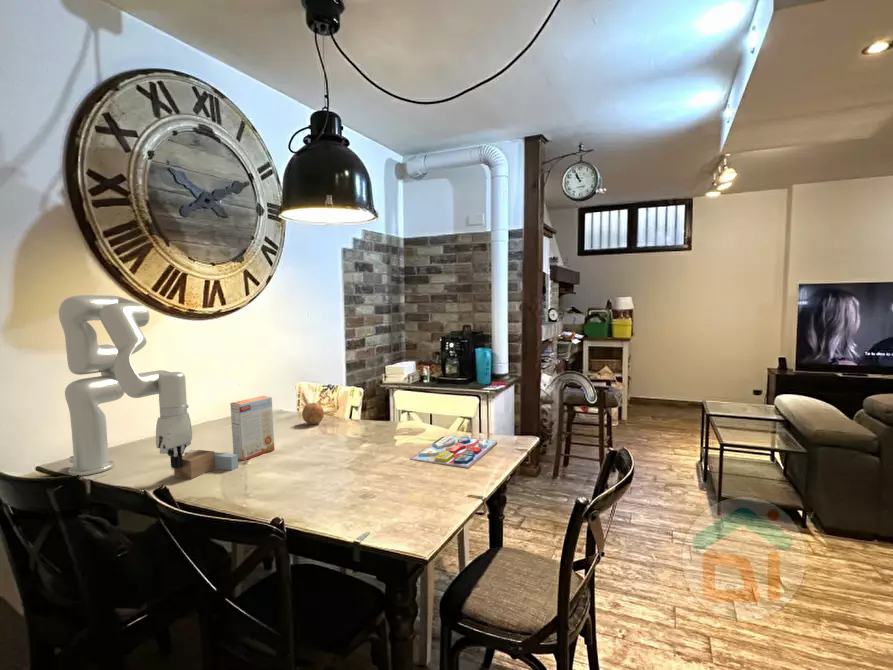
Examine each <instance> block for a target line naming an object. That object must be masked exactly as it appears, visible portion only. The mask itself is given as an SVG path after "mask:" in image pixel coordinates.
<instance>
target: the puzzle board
mask: <svg viewBox="0 0 893 670" xmlns="http://www.w3.org/2000/svg"><path fill="white" fill-rule="evenodd" d="M497 444H498V441H497V440H493V439H492V440H491V439H485V438H474V437H469V436H468V435H466V436H457V435H455V436H454V435H443V436H441V437H440V438H438V439H437V440H435V441H434V442H432V443H431V444H430V445H429V446H428V447H426V448H423V449H422V450H420V451H418V453H416V454H415V455H413V456H412V457H410V458H409V459H410V461H416V462H423V463H430V464H436V465H443V466H444V465H445V466H451V467H456V468H457V467H458V468H463V469H470V468H471V467H472V466H473V465H474V464H476V463H477V462H478V461H479V460H480V459H481V458H483V457H484V455H486V454H487V453H488V452H490V450H492V449H493V448H494V447H495V446H497Z"/></svg>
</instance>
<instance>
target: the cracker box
mask: <svg viewBox="0 0 893 670" xmlns="http://www.w3.org/2000/svg"><path fill="white" fill-rule="evenodd" d="M273 414H274V413H273V397H272V396H265V395H261V396H257V397H252V398H247V399H244V400H237V401H234V402H233V401H232V402H230V419H231V420H230V421H231V433H232V434H231V435H232V436H231V437H232V451H233V453H232V454H237V455H238V461H246V460H249V459H251V458H255V457H258V456H261V455H264V454H267V453H269V452H273V451H275V434H274V433H275V429H274V415H273Z"/></svg>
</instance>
